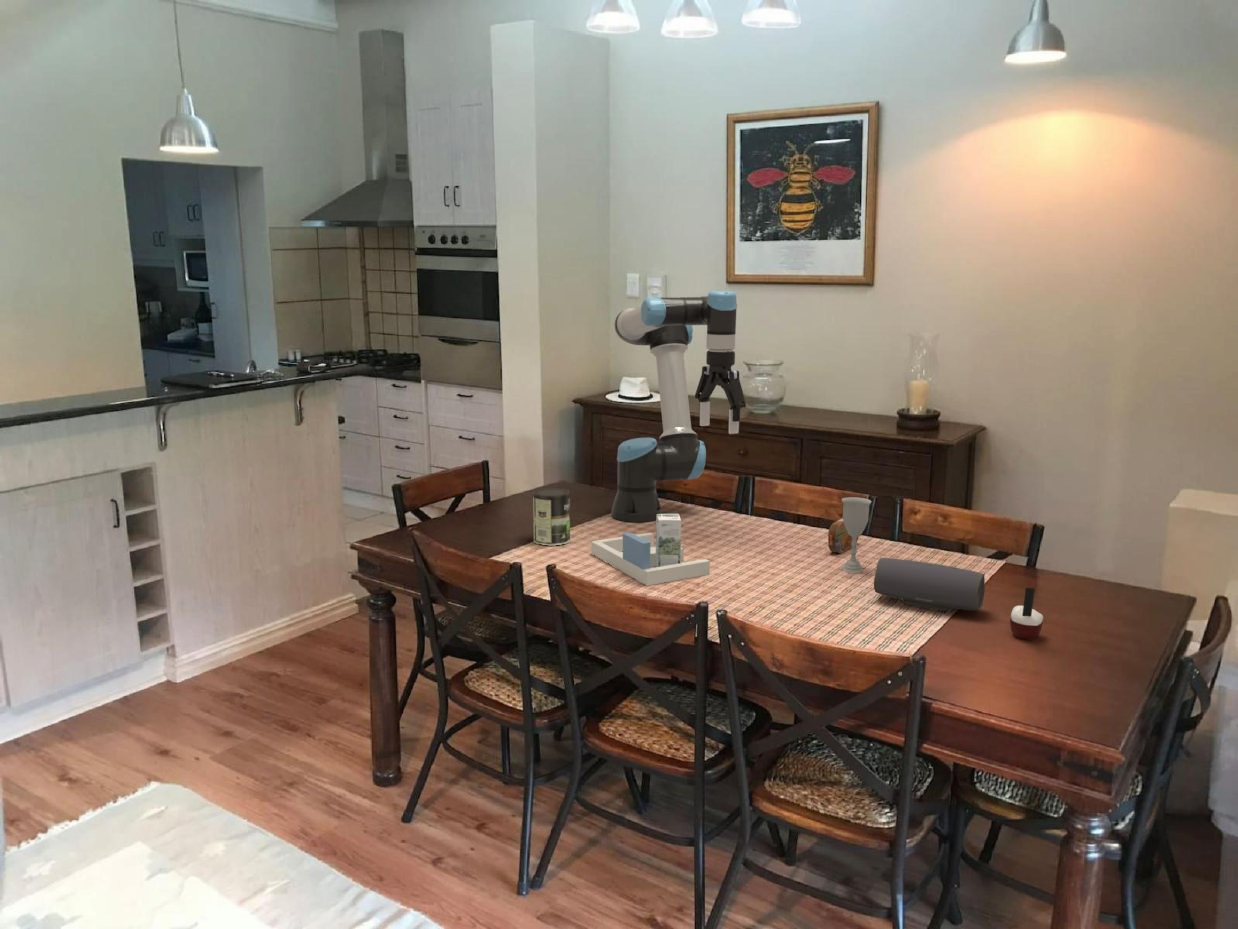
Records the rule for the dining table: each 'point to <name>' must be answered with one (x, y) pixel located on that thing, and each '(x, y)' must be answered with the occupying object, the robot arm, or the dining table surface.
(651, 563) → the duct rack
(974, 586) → the bluetooth speaker
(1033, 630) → the cocoa
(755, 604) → the dining table surface
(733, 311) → the robot arm
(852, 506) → the chalice
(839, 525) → the brown stone slab
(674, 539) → the syrup box
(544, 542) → the coffee can
